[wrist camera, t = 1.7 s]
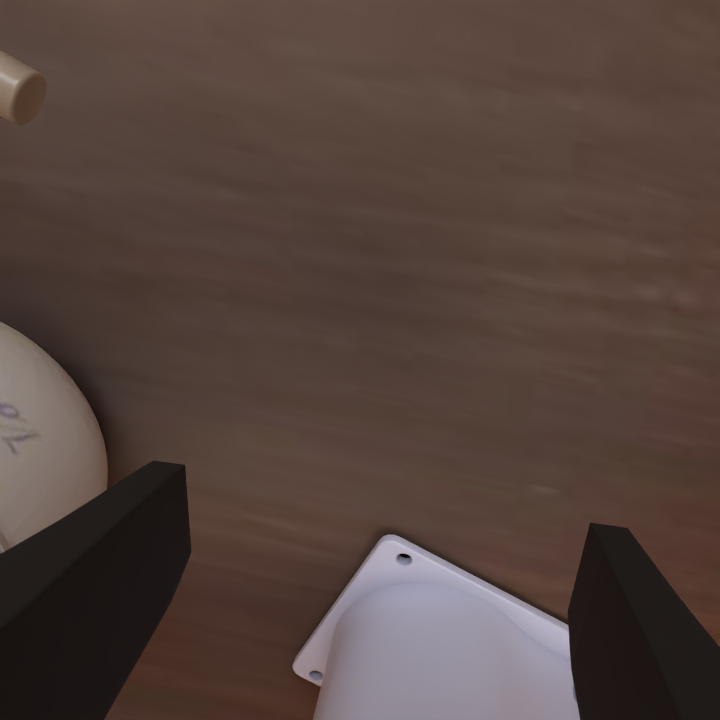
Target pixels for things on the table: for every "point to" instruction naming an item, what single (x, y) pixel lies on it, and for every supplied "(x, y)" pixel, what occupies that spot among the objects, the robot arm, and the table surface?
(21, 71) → the mug stand
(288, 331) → the table surface
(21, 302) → the table surface
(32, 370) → the teacup
